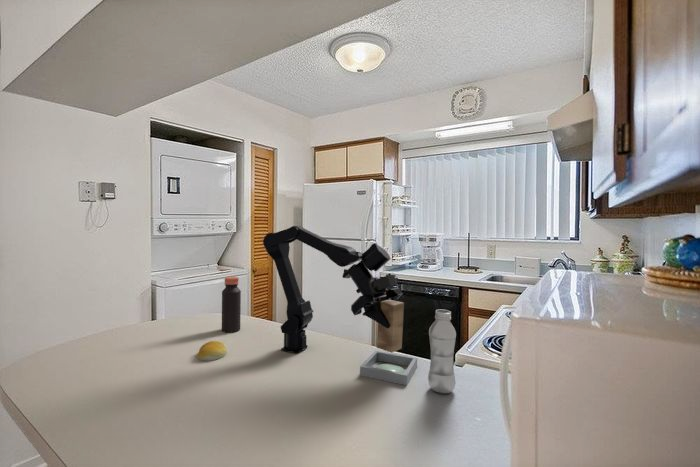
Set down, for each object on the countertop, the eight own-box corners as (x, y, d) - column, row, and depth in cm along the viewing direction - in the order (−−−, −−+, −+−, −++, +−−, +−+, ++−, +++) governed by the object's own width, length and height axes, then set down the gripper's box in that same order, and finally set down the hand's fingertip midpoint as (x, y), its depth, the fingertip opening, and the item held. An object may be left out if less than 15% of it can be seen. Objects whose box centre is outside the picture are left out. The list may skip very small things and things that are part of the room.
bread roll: (195, 363, 99) (195, 349, 99) (200, 351, 107) (200, 339, 107) (225, 360, 101) (225, 347, 101) (228, 349, 110) (228, 337, 109)
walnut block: (376, 347, 95) (379, 301, 95) (387, 343, 99) (389, 299, 99) (391, 352, 92) (393, 305, 92) (401, 348, 96) (404, 302, 95)
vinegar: (226, 327, 132) (227, 276, 132) (243, 327, 132) (243, 276, 131) (218, 332, 126) (218, 279, 125) (235, 333, 125) (236, 279, 124)
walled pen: (359, 375, 92) (360, 366, 92) (375, 358, 104) (375, 350, 104) (406, 385, 87) (407, 375, 87) (417, 366, 99) (417, 357, 99)
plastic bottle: (454, 399, 81) (456, 316, 80) (425, 393, 83) (427, 313, 82) (455, 387, 87) (458, 309, 86) (429, 382, 89) (431, 307, 88)
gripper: (360, 266, 90) (393, 315, 83) (398, 261, 104) (429, 303, 98) (337, 291, 96) (367, 339, 89) (377, 283, 110) (405, 324, 103)
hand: (394, 325), depth 94 cm, fingers closed on walnut block, 5 cm apart
